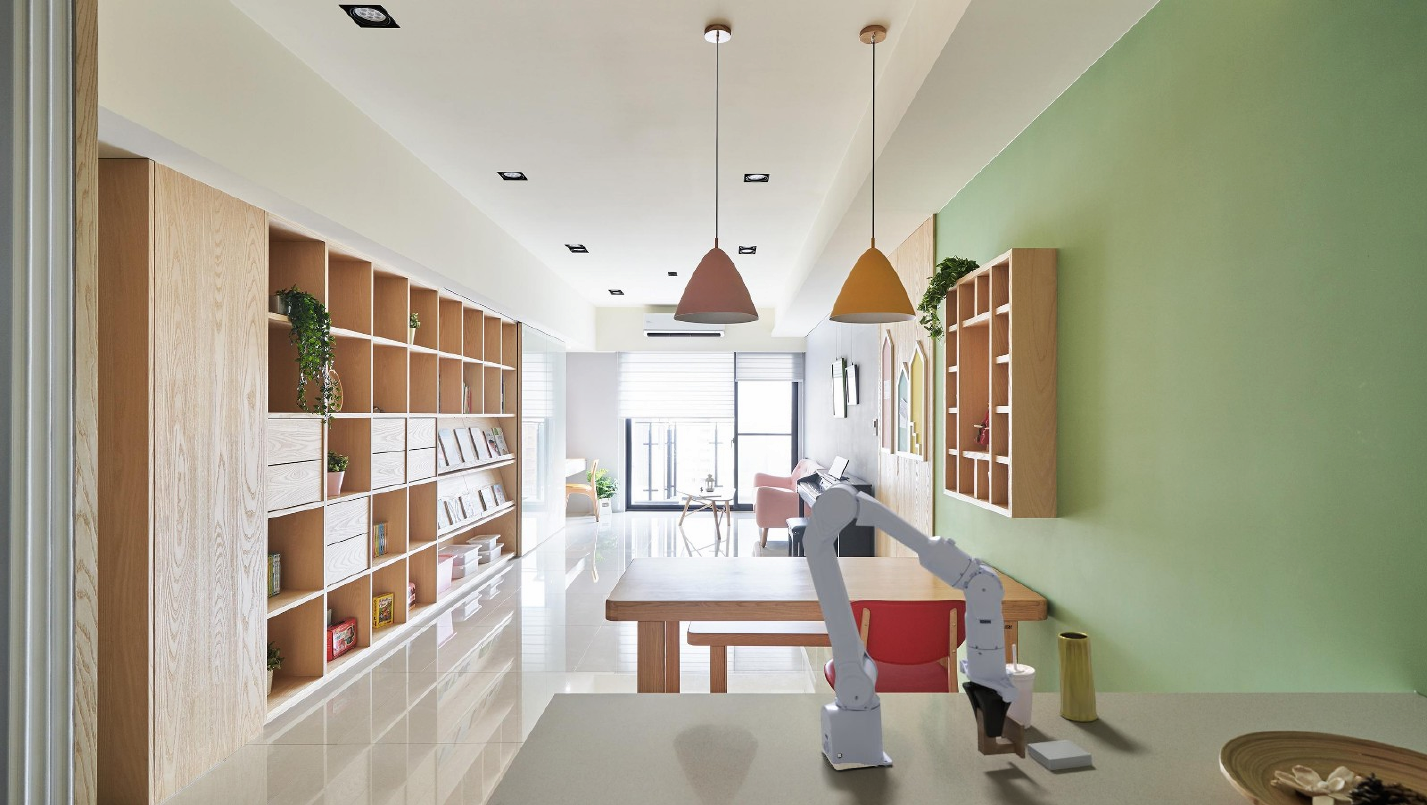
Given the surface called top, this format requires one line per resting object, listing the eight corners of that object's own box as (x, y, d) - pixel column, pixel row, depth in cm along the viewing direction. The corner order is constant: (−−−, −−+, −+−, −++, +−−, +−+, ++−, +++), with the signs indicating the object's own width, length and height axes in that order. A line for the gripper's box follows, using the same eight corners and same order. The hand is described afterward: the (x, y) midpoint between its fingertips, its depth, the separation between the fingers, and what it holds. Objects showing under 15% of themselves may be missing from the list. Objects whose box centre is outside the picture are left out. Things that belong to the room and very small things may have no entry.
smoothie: (997, 728, 132) (992, 647, 132) (1002, 715, 138) (997, 637, 138) (1037, 734, 129) (1032, 650, 129) (1040, 720, 135) (1035, 640, 135)
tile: (1049, 759, 116) (1091, 754, 117) (1027, 743, 122) (1067, 739, 123) (1050, 772, 116) (1092, 767, 117) (1028, 756, 122) (1068, 751, 123)
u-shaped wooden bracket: (990, 760, 115) (989, 717, 115) (971, 744, 121) (970, 703, 121) (1025, 758, 115) (1024, 714, 116) (1004, 742, 121) (1003, 701, 122)
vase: (1062, 721, 134) (1057, 639, 134) (1057, 708, 140) (1052, 630, 140) (1100, 723, 132) (1095, 640, 133) (1094, 710, 138) (1089, 631, 139)
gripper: (1035, 655, 112) (1040, 749, 111) (986, 630, 126) (990, 713, 126) (990, 659, 111) (995, 754, 110) (946, 634, 125) (950, 717, 125)
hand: (990, 733), depth 118 cm, fingers closed on u-shaped wooden bracket
